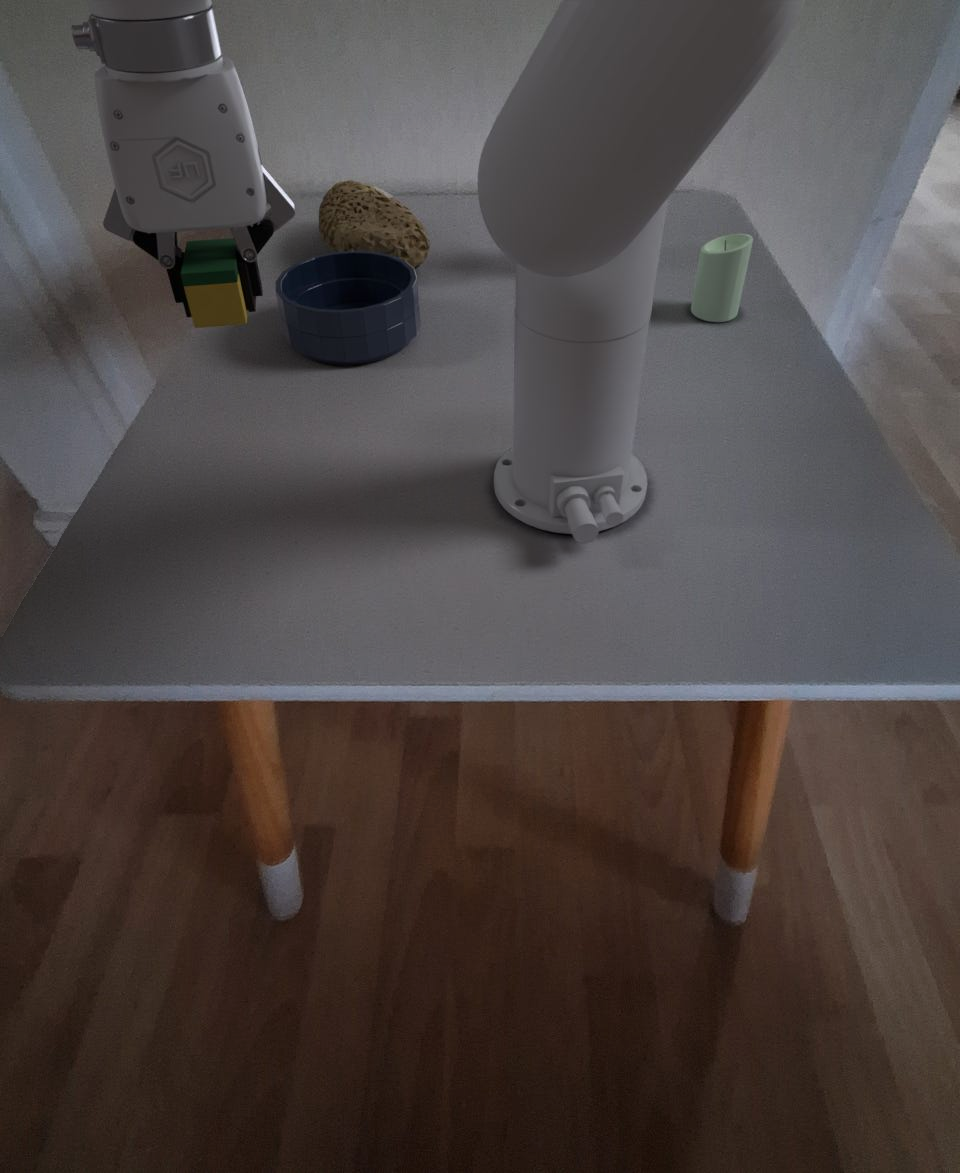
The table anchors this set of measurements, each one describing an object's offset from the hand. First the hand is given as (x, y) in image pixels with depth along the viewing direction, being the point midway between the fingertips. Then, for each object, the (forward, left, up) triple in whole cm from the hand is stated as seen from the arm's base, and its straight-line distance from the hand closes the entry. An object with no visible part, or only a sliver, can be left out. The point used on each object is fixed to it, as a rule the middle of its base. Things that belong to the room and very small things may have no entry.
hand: (221, 304), depth 68 cm
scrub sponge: (0, 0, 0) cm, 0 cm away
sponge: (+37, -14, -13) cm, 41 cm away
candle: (+14, -49, -13) cm, 53 cm away
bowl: (+17, -10, -12) cm, 23 cm away
